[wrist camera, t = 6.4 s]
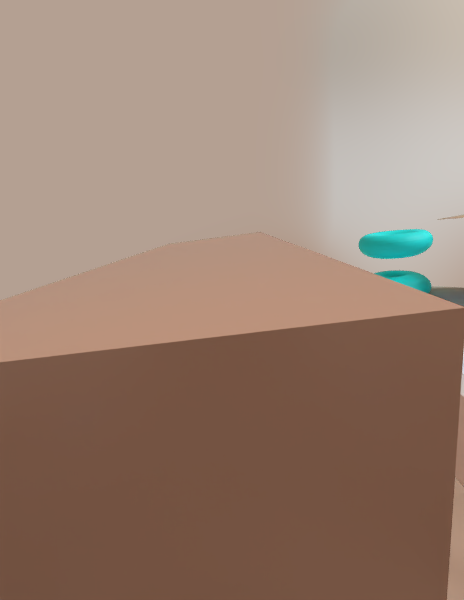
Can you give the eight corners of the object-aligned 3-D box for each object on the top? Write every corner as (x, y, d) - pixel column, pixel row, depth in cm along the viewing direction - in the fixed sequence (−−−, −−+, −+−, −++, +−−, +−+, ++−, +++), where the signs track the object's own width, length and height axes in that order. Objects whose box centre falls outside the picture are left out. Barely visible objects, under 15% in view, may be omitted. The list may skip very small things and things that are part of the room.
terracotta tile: (286, 492, 17) (260, 231, 13) (411, 1127, 5) (465, 307, 2) (213, 499, 17) (169, 243, 13) (169, 1133, 5) (-281, 395, 2)
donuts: (346, 238, 47) (374, 230, 53) (348, 300, 49) (375, 286, 56) (420, 234, 39) (442, 226, 46) (418, 307, 42) (439, 290, 48)
